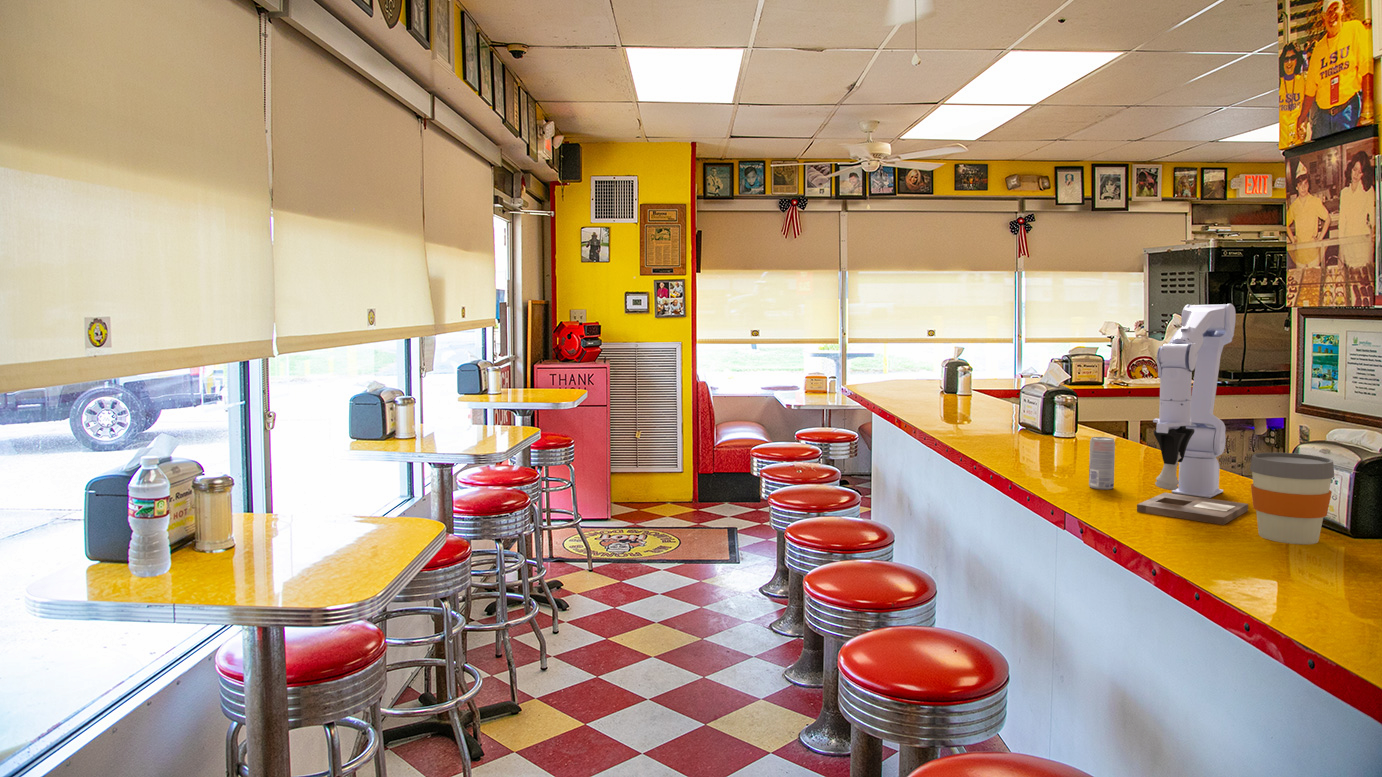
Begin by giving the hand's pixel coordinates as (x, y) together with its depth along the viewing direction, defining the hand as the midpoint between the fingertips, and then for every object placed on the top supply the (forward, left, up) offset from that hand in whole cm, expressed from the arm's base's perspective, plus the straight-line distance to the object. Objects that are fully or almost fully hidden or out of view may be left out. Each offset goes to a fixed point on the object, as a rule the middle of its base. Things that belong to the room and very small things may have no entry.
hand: (1173, 462), depth 173 cm
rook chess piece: (0, -1, -6) cm, 6 cm away
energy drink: (-11, -19, -10) cm, 24 cm away
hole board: (0, +4, -10) cm, 11 cm away
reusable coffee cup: (+10, +23, -10) cm, 27 cm away
